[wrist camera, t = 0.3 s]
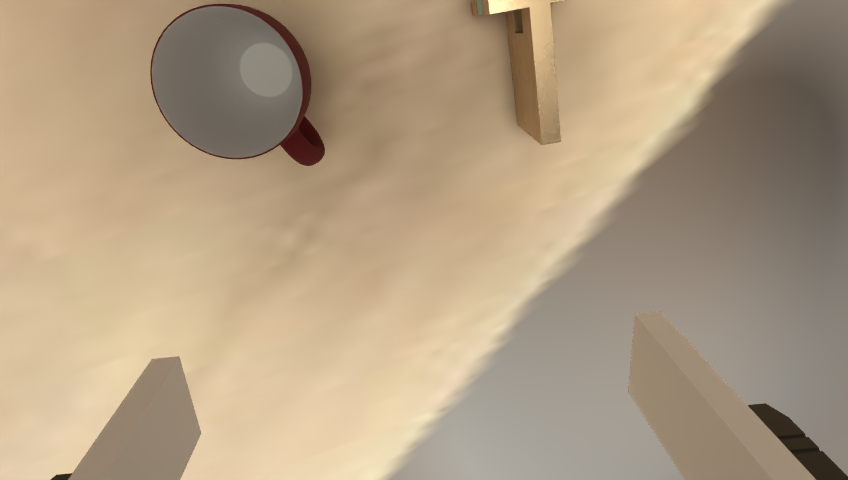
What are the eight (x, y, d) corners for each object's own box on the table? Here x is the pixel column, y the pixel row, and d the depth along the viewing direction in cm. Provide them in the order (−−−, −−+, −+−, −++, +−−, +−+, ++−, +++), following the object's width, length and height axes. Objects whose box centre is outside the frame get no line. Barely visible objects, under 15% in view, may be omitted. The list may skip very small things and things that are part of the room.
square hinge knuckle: (460, -80, 36) (476, -102, 29) (548, -96, 35) (583, -123, 29) (487, 130, 41) (505, 151, 34) (564, 116, 41) (596, 135, 34)
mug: (374, 98, 39) (369, 122, 30) (298, 173, 41) (271, 218, 32) (260, -20, 36) (216, -34, 27) (183, 67, 38) (117, 82, 29)
